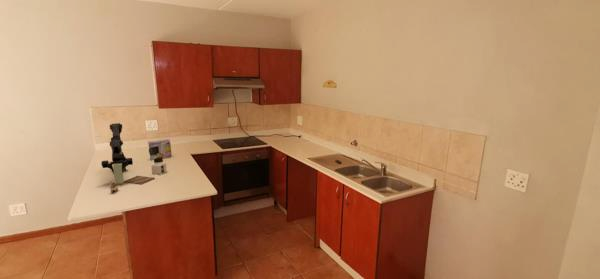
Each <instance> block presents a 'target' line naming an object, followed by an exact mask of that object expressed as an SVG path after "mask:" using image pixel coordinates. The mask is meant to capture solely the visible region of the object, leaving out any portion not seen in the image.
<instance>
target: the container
mask: <svg viewBox="0 0 600 279" xmlns="http://www.w3.org/2000/svg"><path fill="white" fill-rule="evenodd" d="M150 165H151V173H152V175H158V176H159V175H163V174H166V173H168V170H167V163H166V162H164V158H162V157H155V158H154V160H153V163H152V164H150Z"/></svg>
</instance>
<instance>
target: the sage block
mask: <svg viewBox="0 0 600 279" xmlns="http://www.w3.org/2000/svg"><path fill="white" fill-rule="evenodd" d="M112 166H113V170H114V174H113V178H114V179H113V181H114V182H115V183H116V184H120V183H124V182H123V181H124V172H123V173H122V163H114V164H113V165H112Z"/></svg>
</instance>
